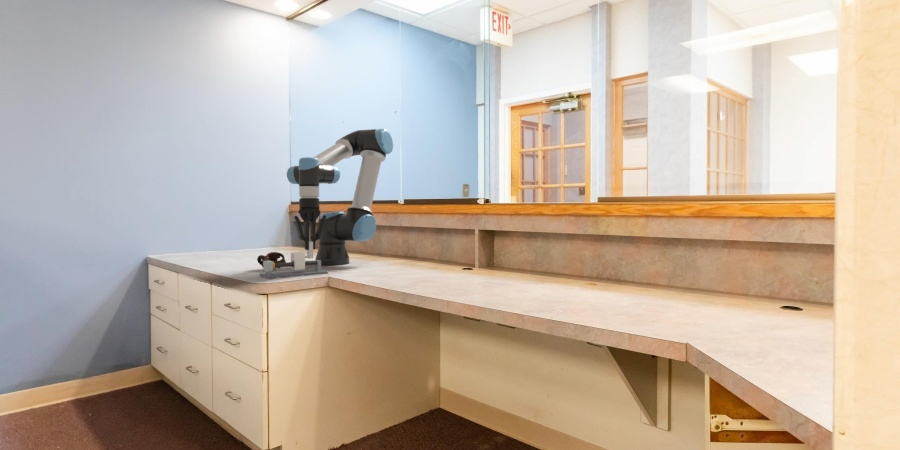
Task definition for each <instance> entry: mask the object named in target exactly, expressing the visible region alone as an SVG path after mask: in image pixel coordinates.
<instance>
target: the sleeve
mask: <svg viewBox="0 0 900 450" xmlns="http://www.w3.org/2000/svg"><path fill="white" fill-rule="evenodd" d="M305 261H306V252H302V251H296V252H295V251H294V252H293V251H292V252H290V262H294V266H291V267H290V269H291V270H292V271H297V270H306V265H305Z"/></svg>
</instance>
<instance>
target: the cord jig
mask: <svg viewBox="0 0 900 450" xmlns="http://www.w3.org/2000/svg"><path fill="white" fill-rule="evenodd" d="M313 265H314V268H313V269H312V268H310V269H302V270H287V271H274V270H276V269H278V268H277V267H281V268H288V267H289V268H291V266H294V262H291V261H290V262H286V263H274V262H273V261H263V267H262V268H263V273H259V276H260V277H263V278H264V277H265V279H267V278H270V279H278V278H277V277H281V278H289V276H293V277H302V276H301V275H304V276H314V275H315V274H316V275H326V274H328V273H329V271H328V270H324V269H322V265H321V260H315V259H314V260H305V266H313ZM273 271H274V272H273Z"/></svg>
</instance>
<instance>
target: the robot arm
mask: <svg viewBox="0 0 900 450" xmlns="http://www.w3.org/2000/svg"><path fill="white" fill-rule="evenodd" d="M393 148H394V143H393V138H392V136H391V133H390V132H389V131H388V130H387V129H385V128H378V127H377V128H374V129H373V128H371V129H360V130H359V129H358V130H355V131H354V130H353V132H350V133H347V134H345V135H344V136H342V137H341V138H339V139H337V140H336V141H335V144H333V145H332V146H329V148H326V149H325V150H324V151H321V152H320V153H318V154H316V155H315V156H313V157H310V156H307V157H300V158H299V160H298V165H293V166H290V167H289V168H287V171H286V177H287V180H288V182H289V183H291V184H293V185H298V190H299V192H298V193H299V197H300V198H299V199H298V200H299V202H298V203H299V204H298V205H299V209H298V212H297V214H295V215H292V219H293V220H294V222H295V226H296V231H297V234H298V237H299V240H300V241H303V242H304V250H305V251H306V258H307V259H310V260H311V259H314V250H316V241H318V249H317V253H316V255H315V259H314V261H315V260H321V266H334V265H335V266H336V265H337V266H338V265H339V266H340V265H346V264H349V263H350V256H349V253H348V251H347V250H348V249H347V247H346V241H348V242H349V241H351V242H366V241H369V240H371V239H372V237H373V236H374V235H375V234H376V229H377V223H376V218H375V216H374V213H373V210H372V206H373V201H374V198H375V197H374V195H375V192H376V187H377V183H378V177H379V175H380V168H381V163H383V162H384V161H385V160H386V156H387V155H389V154H391V153H392V151H393ZM353 156H354V157H355V156H360V157H361V158H362V159H361V164H360V168H359V172H358V177H357V182H356V185H355V190H354V194H353V199H352V203H351V205H350V206H349V207H347V210H346V213H345V211H343V210H342V211H331V212H324V213H321V209H320V199H319V197H320V184H327V185H328V184H329V185H331V184H337V183H338V181H339V180H340V178H341V171H340V169H339V168H338V167H337V166H335V165H337V164H338V163H340V162H341V161H342V160H345V159H350V158H351V157H353ZM317 219H318V222H317ZM301 220H302V221H303V222H301ZM302 223H303V226H302ZM316 224H317V227H316Z"/></svg>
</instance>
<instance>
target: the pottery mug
mask: <svg viewBox="0 0 900 450" xmlns="http://www.w3.org/2000/svg"><path fill="white" fill-rule="evenodd" d="M280 258H282V259H280ZM278 259H280V260H278ZM256 261H257V262H258V264H259V265H260V266H261V267H262V268H263V261H273V262H274V263H287V261H286V259H285V255H284V254H283V253H281V252H278V251H270V252H269V253H267V254H266V255H263V254H261V255H258V256H257V259H256ZM281 268H282V267H277V268H276V269H281Z"/></svg>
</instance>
